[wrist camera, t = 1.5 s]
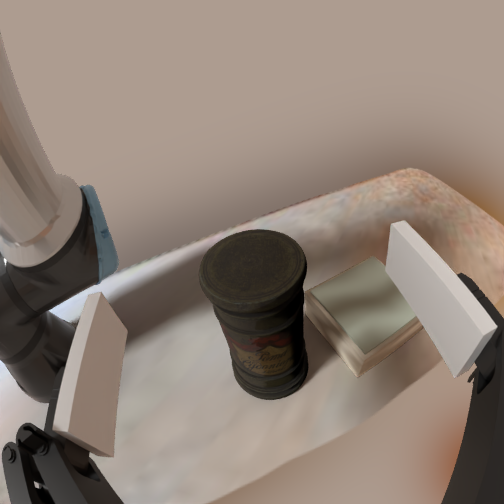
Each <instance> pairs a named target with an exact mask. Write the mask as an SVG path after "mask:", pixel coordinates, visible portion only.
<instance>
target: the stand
mask: <svg viewBox="0 0 504 504" xmlns="http://www.w3.org/2000/svg"><path fill="white" fill-rule="evenodd" d="M385 267H386V266H385V265H384V264H383V263H382V262H381V261H379V260H378V259H377V258H376V257H375V256H371V257H369V258H367V259H366V260H364V261H362V262H360V263H358V264H357V265H355V266H353V267H351V268H349V269H347V270H345V271H344V272H342V273H340V274H338V275H336V276H334V277H332V278H330V279H329V280H327V281H325V282H323V283H321V284H319V285H317V286H315V287H313V288H311V289H309V290H307V291H305V314H306V315H307V317H308V318H309V319H310V320H311V321H312V323H313V324H314V325H315V326H316V328H317V329H318V330H319V331H320V333H321V334H322V335H323V336H324V337H325V339H326V340H327V341H328V342H329V344H330V345H331V346H332V347H333V349H334V350H335V351H336V352H337V353H338V355H339V356H340V357H341V358H342V360H343V361H344V362H345V363H346V365H347V366H348V367H349V368H350V369H351V371H352V372H353V373H354V374H355V376H356V377H357V378H358V377H359V376H361V375H362V374H364V373H365V372H367V371H368V370H370V369H371V368H372V367H374V366H375V365H377V364H378V363H379V362H381V361H382V360H383V359H385V358H386V357H387V356H389V355H390V354H391V353H393V352H394V351H395V350H397V349H398V348H399V347H400V346H402V345H403V344H404V343H405V342H407V341H408V340H409V339H410V338H412V337H413V336H414V335H415V334H416V333H418V332H419V331H420V330H421V329H422V328H423V325H422V324H421V322H420V321H419V319H418V317H417V316H416V314H415V313H414V311H413V310H412V308H411V307H410V305H409V304H408V302H407V301H406V300H405V298H404V297H403V295H402V294H401V292H400V291H399V289H398V288H397V287H396V285H395V284H394V282H393V281H392V280H391V278H390V277H389V275H388V274H387V273H386V271H385Z"/></svg>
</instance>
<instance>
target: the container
mask: <svg viewBox="0 0 504 504" xmlns="http://www.w3.org/2000/svg"><path fill="white" fill-rule="evenodd" d="M306 272H307V261H306V257H305V255H304V252H303V250H302V248H301V247H300V246H299V244H298V243H297V242H296V241H295V240H293V239H292V238H291V237H289V236H287V235H285V234H282V233H280V232H276V231H271V230H260V229H257V230H247V231H243V232H239V233H235V234H233V235H230V236H228V237H226V238H224V239H222V240H221V241H219V242H218V243H216V244H215V245H214V246H212V247H211V248H210V249H209V251H208V252H207V253H206V254H205V256H204V258H203V260H202V262H201V265H200V270H199V280H200V285H201V287H202V290H203V291H204V293H205V295H206V296H207V297H208V298H209V299H210V301H211V302H212V304H213V308H214V312H215V315H216V317H217V319H218V320H219V322H220V325H221V328H222V331H223V333H224V335H225V337H226V340H227V343H228V345H229V348H230V355H231V359H232V367H233V371H234V375H235V378H236V380H237V382H238V384H239V385H240V386H241V387H242V388H243V389H244V390H245V391H246V392H247V393H249V394H251V395H252V396H255V397H257V398H260V399H266V400H275V399H280V398H284V397H286V396H288V395H290V394H292V393H293V392H295V391H296V390H297V389H298V388H299V387H300V386H301V385H302V383H303V382H304V380H305V378H306V376H307V372H308V357H307V352H306V349H305V340H304V337H303V305H304V290H303V283H304V280H305V277H306Z"/></svg>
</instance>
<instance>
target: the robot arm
mask: <svg viewBox="0 0 504 504" xmlns="http://www.w3.org/2000/svg"><path fill="white" fill-rule="evenodd" d="M118 265H119V260H118V256H117V252H116V249H115V246H114V243H113V240H112V237H111V234H110V232H109V230H108V226H107V223H106V220H105V217H104V214H103V211H102V208H101V206H100V202H99V200H98V197H97V194H96V192H95V189H94V188H93V186H91V185H86V186H81V187H78V185H77V184H76V183H75V181H74V180H73V179H71V178H70V177H68V176H66V175H62V174H56V173H55V171H54V169H53V167H52V165H51V164H50V161H49V160H48V157H47V155H46V153H45V151H44V149H43V147H42V145H41V143H40V141H39V139H38V137H37V134H36V132H35V130H34V127H33V125H32V123H31V121H30V118H29V116H28V114H27V111H26V109H25V107H24V104H23V101H22V99H21V96H20V94H19V91H18V88H17V85H16V82H15V79H14V77H13V74H12V71H11V68H10V64H9V61H8V58H7V55H6V51H5V48H4V44H3V41H2V37H1V33H0V360H1V361H2V362H3V363H4V364H5V365H6V367H7V369H8V370H9V372H10V373H11V375H12V376H13V377H14V379H15V380H16V382H17V384H18V385H19V387H20V388H21V390H22V391H23V392H24V393H26V394H27V395H28V396H30V397H31V398H32V399H34V400H36V401H38V402H42V403H49V407H48V412H47V417H46V423H45V428H44V431H42V430H41V429H39V428H38V427H36V426H35V425H33V424H31V423H25V424H23V425H22V426H21V427H20V428H19V429H18V432H17V435H16V444H15V443H13V442H8V443H7V444H6V445H5V446H4V448H3V451H2V462H3V468H4V474H5V479H6V484H7V489H8V493H9V497H10V501H11V504H124V503H123V502H122V500H121V499H120V498H119V497H118V495H117V494H116V493H115V491H114V490H113V489H112V487H111V486H110V484H109V483H108V482H107V480H106V479H105V477H104V476H103V474H102V473H101V472H100V470H99V469H98V467H97V466H96V464H95V462H94V461H93V460H92V459H91V458H90V457H89V452H91V453H93V454H95V455H97V456H102V457H114V441H115V427H116V415H117V404H118V395H119V386H120V378H121V371H122V364H123V357H124V351H125V345H126V339H127V333H128V330H127V329H126V328H125V326H124V325H123V323H122V322H121V321H120V319H119V318H118V316H117V315H116V313H115V312H114V310H113V309H112V307H111V306H110V304H109V303H108V301H107V300H106V298H105V297H104V295H103V294H102V292H98V293H94V294H89V295H88V297H87V299H86V302H85V305H84V308H83V311H82V314H81V317H80V320H79V323H78V326H77V329H75V328H74V327H73V326H72V325H71V324H70V323H69V322H67V321H64V320H62V319H60V318H59V317H57V316H56V315H54V314H52V313H51V312H49V310H50V309H52V308H54V307H55V306H57V305H59V304H61V303H62V302H64V301H66V300H68V299H69V298H71V297H73V296H75V295H77V294H78V293H80V292H82V291H84V290H85V289H87V288H89V287H91V286H93V285H98V284H100V283H101V281H102V280H103V279H105V278H107V277H108V276H110V275H111V274H113V273H114V272H115V271H116V270H117V268H118ZM385 271H386V273H387V274H388V275H389V277H390V278H391V280H392V281H393V282H394V284H395V285H396V287H397V288H398V289H399V291H400V292H401V294H402V295H403V297H404V298H405V300H406V301H407V302H408V304H409V305H410V307H411V308H412V310H413V311H414V313H415V314H416V316H417V317H418V319H419V321H420V322H421V324H422V325H423V327H424V328H425V330H426V331H427V333H428V335H429V336H430V338H431V339H432V341H433V343H434V344H435V346H436V348H437V349H438V351H439V353H440V354H441V356H442V358H443V359H444V361H445V363H446V364H447V366H448V368H449V370H450V371H451V373H452V375H453V377H454V378H456V377H458V376H460V375H461V374H463V373H465V372H466V371H468V370H469V369H470V367H471V366H472V365H473V363H474V362H475V364H476V366H477V368H476V369H475V371H474V372H473V373H472V375H471V376H470V377H469V379H468V382H471V380H472V379H473V378H474V382H473V390H472V396H471V403H470V408H469V413H468V418H467V423H466V427H465V432H464V436H463V440H462V444H461V447H460V451H459V454H458V458H457V462H456V464H455V468H454V471H453V474H452V477H451V480H450V482H449V485H448V488H447V490H446V493H445V496H444V498H443V501H442V503H441V504H504V318H503V317H502V316H501V315H500V313H499V312H498V311H497V309H496V308H495V307H494V306H493V304H492V303H491V302H490V300H489V299H488V298H487V297H485V294H484V293H483V292H482V291H481V290H479V287H478V286H477V285H476V284H475V282H474V281H473V280H472V279H471V278H469V277H467V276H466V275H464V274H463V273H460V274H457V275H456V274H455V273H454V272H453V271H452V269H451V268H450V267H449V266H448V265H447V264H446V263H445V262H444V261H443V259H442V258H441V257H440V256H439V255H438V254H437V253H436V252H435V251H434V250H433V249H432V248H431V247H430V246H429V244H428V243H427V242H426V241H425V240H424V239H423V238H422V237H421V236H420V235H419V234H418V233H417V232H416V231H415V230H414V229H413V228H412V227H411V226H410V225H409V224H408V223H407V222H406V221H405V220H404V221H400V222H395V223H391V227H390V236H389V245H388V253H387V260H386V267H385ZM34 481H35V482H37V483H39V489H38V488H36V487H35V485H34Z"/></svg>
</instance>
